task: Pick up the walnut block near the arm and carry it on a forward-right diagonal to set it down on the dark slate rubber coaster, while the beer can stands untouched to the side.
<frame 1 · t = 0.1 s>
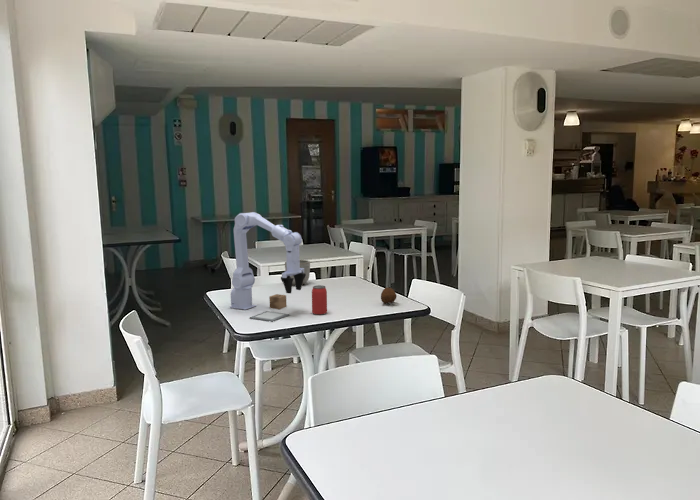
hand: (293, 291, 240), 10 cm above the table, fingers open, 7 cm apart
slate coaster: (269, 317, 236), on the table
potato: (388, 304, 258), on the table
walnut block: (278, 307, 253), on the table
planter: (298, 285, 305), on the table
beer can: (319, 313, 242), on the table
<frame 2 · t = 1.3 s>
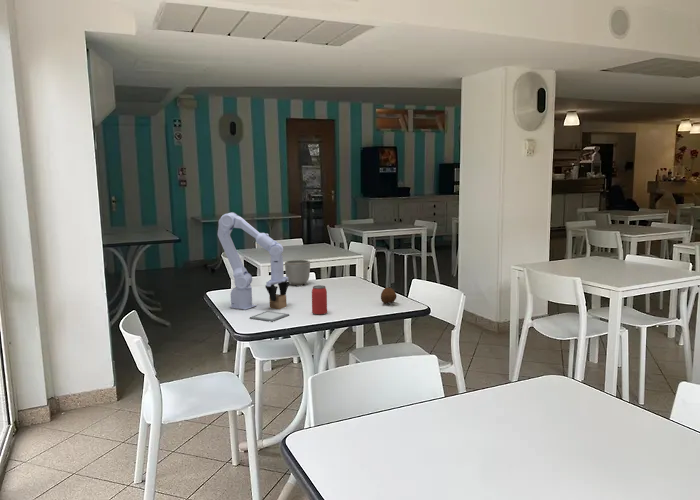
hand: (278, 299, 253), 4 cm above the table, fingers open, 7 cm apart
nothing on the table moved.
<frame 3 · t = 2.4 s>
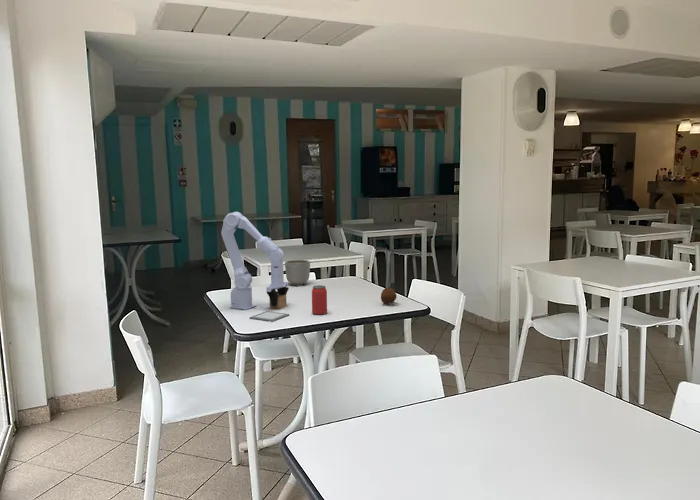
hand: (278, 304, 253), 1 cm above the table, fingers closed on walnut block, 5 cm apart
walnut block: (278, 307, 253), on the table, touching gripper
everything else where it was.
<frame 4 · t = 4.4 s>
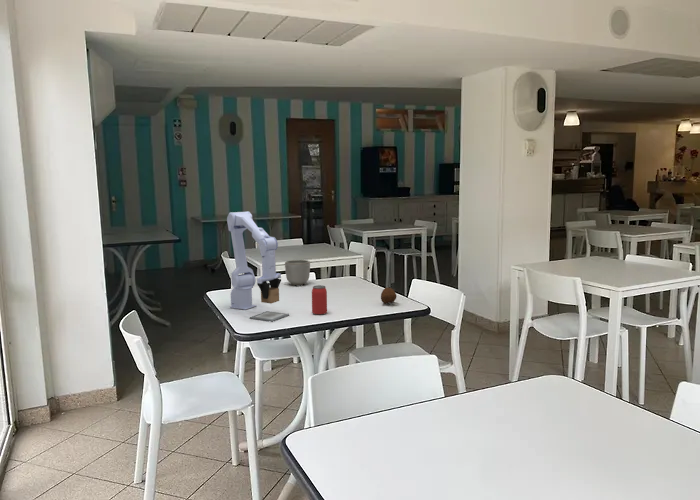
hand: (269, 297, 236), 8 cm above the table, fingers closed on walnut block, 6 cm apart
walnut block: (270, 301, 236), point 7 cm above the table, touching gripper
everything else where it was.
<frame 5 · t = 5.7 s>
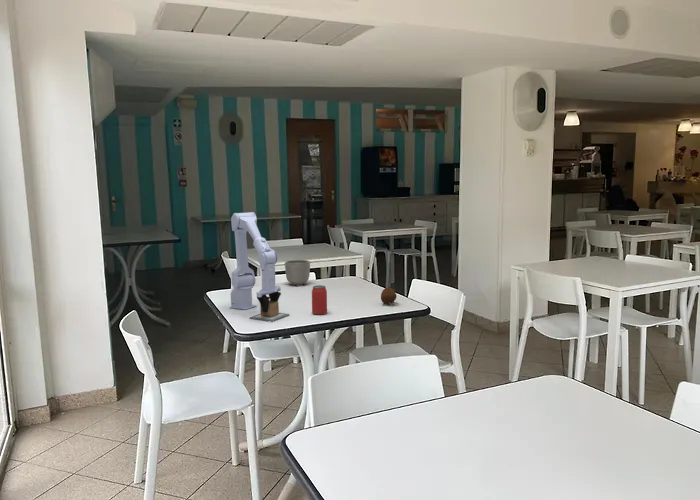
hand: (269, 310, 236), 3 cm above the table, fingers closed on walnut block, 6 cm apart
walnut block: (269, 314, 236), point 1 cm above the table, touching gripper
everything else where it was.
when the fingers open (3 cm above the table, at t = 6.5 s): walnut block stays where it is, resting on slate coaster.
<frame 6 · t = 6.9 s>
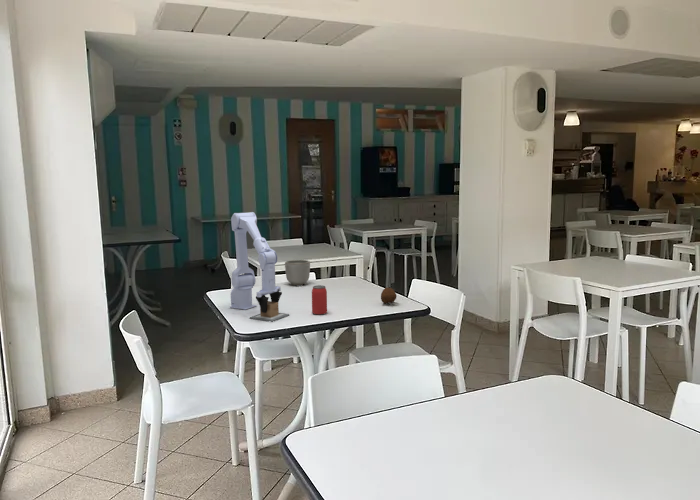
hand: (269, 310, 236), 3 cm above the table, fingers open, 7 cm apart
walnut block: (269, 315, 236), point 1 cm above the table, touching slate coaster
everything else where it was.
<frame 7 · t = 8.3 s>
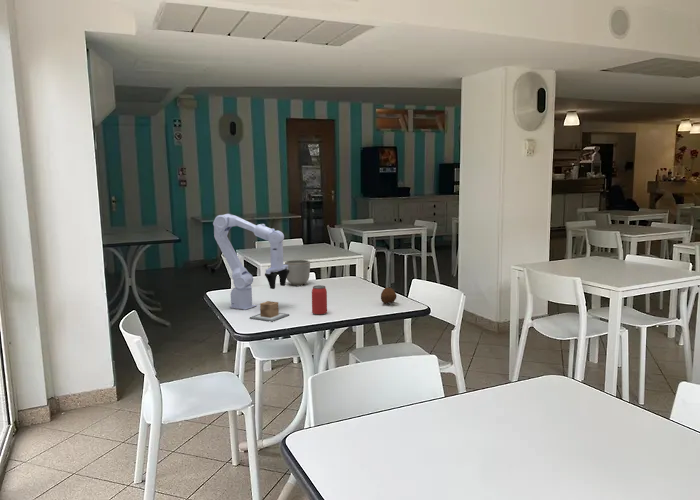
hand: (277, 287, 250), 10 cm above the table, fingers open, 7 cm apart
nothing on the table moved.
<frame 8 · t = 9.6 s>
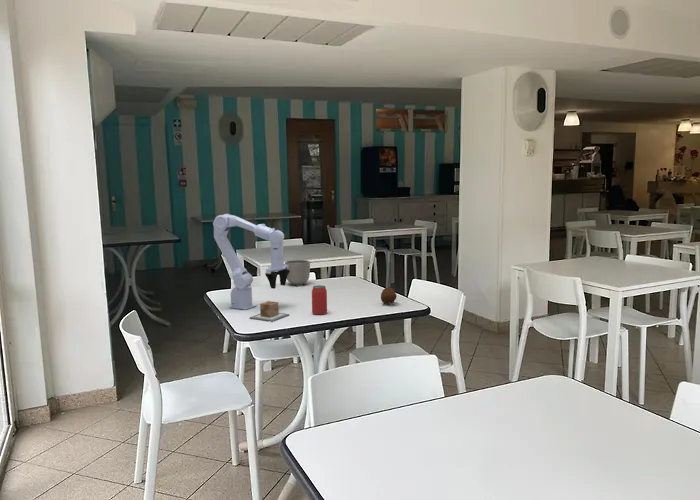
hand: (278, 286, 251), 10 cm above the table, fingers open, 7 cm apart
nothing on the table moved.
at the end: walnut block inside the target area on the slate coaster (0.1 cm from its centre), point 0.7 cm above the slate coaster's base; walnut block tilted 0°; the gripper is holding nothing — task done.
